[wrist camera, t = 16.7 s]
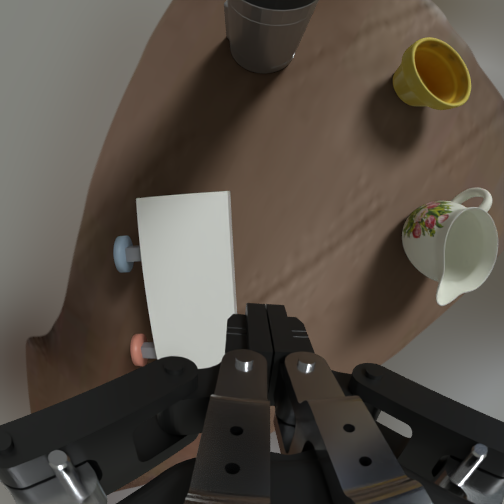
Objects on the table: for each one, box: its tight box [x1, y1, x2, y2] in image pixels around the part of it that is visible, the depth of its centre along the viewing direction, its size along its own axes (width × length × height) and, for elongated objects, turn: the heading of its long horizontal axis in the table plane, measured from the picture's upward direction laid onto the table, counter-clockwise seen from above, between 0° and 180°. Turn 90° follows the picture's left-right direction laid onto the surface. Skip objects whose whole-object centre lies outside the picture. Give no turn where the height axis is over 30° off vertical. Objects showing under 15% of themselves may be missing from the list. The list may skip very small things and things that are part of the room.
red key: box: [131, 334, 157, 366], centre depth 38 cm, size 8×4×4 cm, turn 92°
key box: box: [136, 191, 237, 369], centre depth 39 cm, size 10×26×9 cm, turn 2°
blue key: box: [114, 236, 142, 272], centre depth 36 cm, size 8×4×4 cm, turn 92°
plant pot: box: [393, 38, 471, 110], centre depth 34 cm, size 10×10×10 cm
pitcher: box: [402, 188, 498, 306], centre depth 36 cm, size 11×18×14 cm, turn 140°
